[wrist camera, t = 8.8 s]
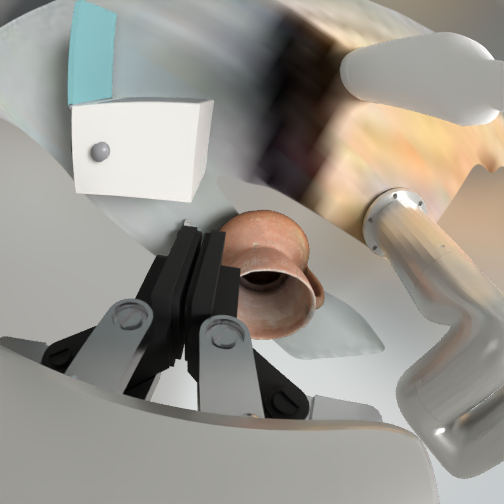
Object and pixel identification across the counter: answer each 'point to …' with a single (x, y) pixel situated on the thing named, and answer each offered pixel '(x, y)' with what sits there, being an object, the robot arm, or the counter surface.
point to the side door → (90, 54)
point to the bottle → (429, 77)
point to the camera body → (141, 146)
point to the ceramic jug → (271, 273)
